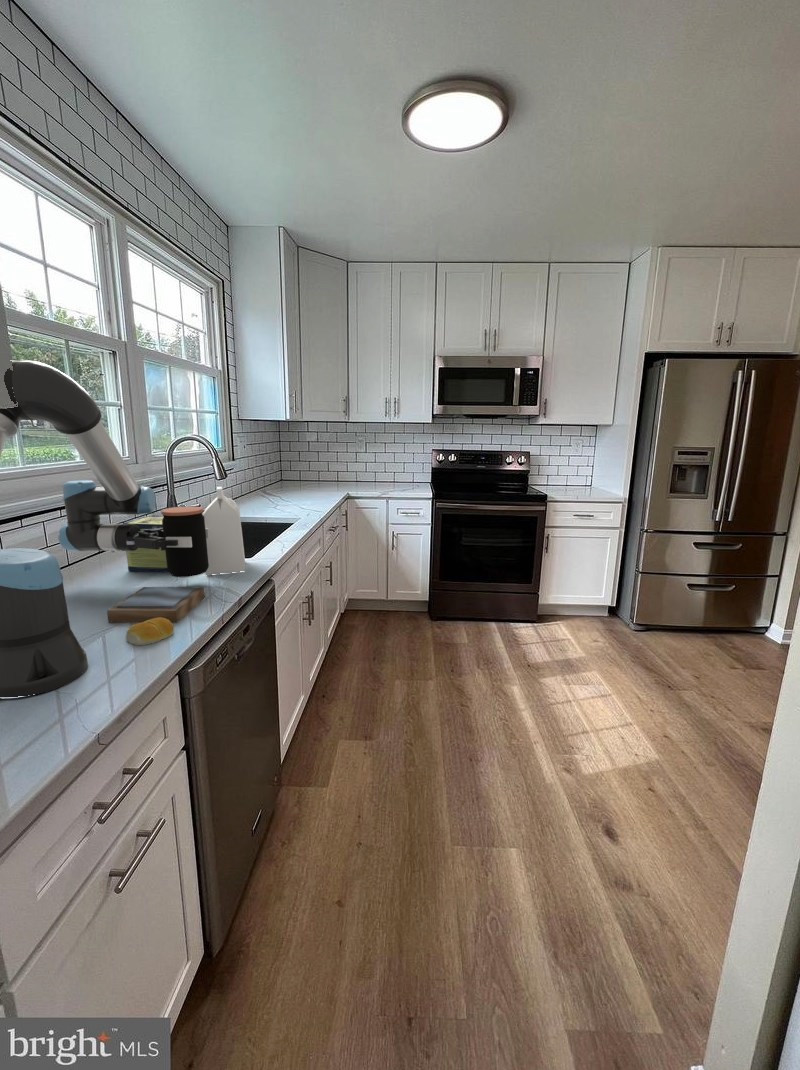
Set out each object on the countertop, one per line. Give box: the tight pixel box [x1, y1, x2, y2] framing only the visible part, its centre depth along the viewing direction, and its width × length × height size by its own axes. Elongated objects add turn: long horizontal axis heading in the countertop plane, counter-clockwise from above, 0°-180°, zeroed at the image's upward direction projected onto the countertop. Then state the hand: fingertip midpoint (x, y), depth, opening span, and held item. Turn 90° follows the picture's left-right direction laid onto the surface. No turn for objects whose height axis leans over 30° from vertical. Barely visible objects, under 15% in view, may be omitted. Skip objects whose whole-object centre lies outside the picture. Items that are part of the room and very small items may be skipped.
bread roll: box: [125, 617, 175, 646], centre depth 101 cm, size 8×9×4 cm
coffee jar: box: [160, 505, 209, 578], centre depth 130 cm, size 11×11×18 cm
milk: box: [202, 486, 246, 576], centre depth 146 cm, size 12×12×26 cm
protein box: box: [122, 516, 169, 573], centre depth 149 cm, size 10×16×16 cm
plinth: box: [106, 586, 206, 624], centre depth 116 cm, size 16×16×4 cm
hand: (200, 537), depth 129 cm, fingers closed on coffee jar, 11 cm apart
